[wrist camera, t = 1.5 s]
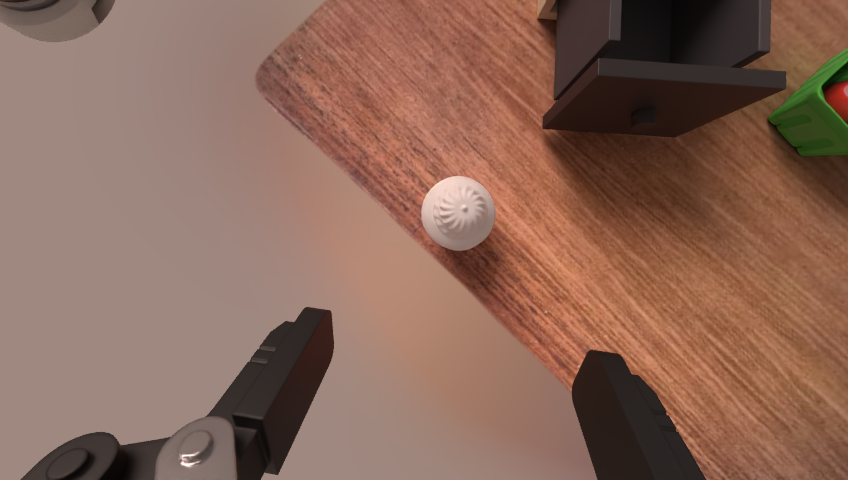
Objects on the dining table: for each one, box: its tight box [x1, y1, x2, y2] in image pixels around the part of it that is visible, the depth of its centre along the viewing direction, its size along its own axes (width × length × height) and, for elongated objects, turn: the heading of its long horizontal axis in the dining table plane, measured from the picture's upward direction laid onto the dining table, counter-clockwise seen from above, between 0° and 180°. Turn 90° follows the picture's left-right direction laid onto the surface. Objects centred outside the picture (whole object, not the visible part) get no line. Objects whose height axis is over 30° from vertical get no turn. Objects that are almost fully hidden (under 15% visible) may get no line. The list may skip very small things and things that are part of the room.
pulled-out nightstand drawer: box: [542, 0, 786, 137], centre depth 25 cm, size 16×13×9 cm
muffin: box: [422, 176, 495, 251], centre depth 26 cm, size 6×6×7 cm
